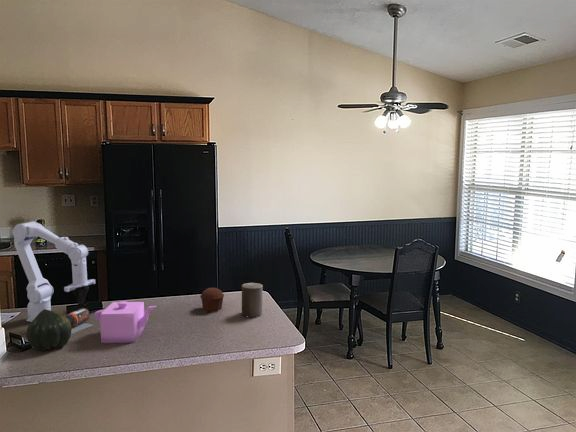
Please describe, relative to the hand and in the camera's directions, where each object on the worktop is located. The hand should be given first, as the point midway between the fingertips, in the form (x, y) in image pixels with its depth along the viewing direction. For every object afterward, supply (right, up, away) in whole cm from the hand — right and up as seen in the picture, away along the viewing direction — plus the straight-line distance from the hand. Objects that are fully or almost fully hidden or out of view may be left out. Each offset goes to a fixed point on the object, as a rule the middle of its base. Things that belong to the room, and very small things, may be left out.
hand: (81, 303), depth 197 cm
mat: (-4, -9, -7) cm, 12 cm away
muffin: (+54, -7, +19) cm, 58 cm away
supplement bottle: (+1, -5, +2) cm, 5 cm away
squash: (0, -12, -25) cm, 28 cm away
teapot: (+25, -11, -14) cm, 30 cm away
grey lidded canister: (+74, -7, +12) cm, 75 cm away
